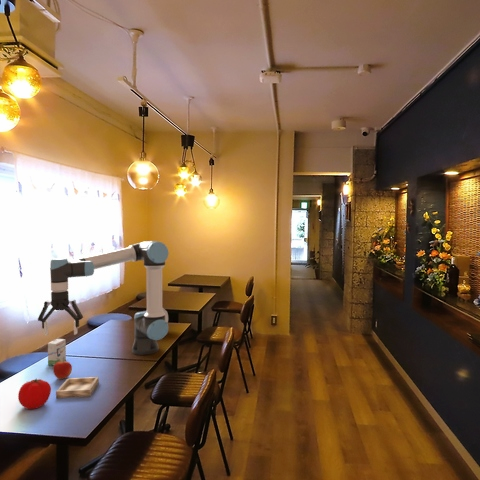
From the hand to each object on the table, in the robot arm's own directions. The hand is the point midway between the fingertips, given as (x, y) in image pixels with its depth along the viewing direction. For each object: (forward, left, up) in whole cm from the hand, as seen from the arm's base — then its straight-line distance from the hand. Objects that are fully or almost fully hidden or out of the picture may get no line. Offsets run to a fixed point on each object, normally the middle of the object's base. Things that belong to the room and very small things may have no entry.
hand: (61, 334), depth 184 cm
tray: (-12, +15, -22) cm, 29 cm away
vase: (-36, -70, -22) cm, 82 cm away
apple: (0, 0, -22) cm, 22 cm away
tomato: (+1, +28, -22) cm, 35 cm away
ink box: (+11, -23, -22) cm, 33 cm away
